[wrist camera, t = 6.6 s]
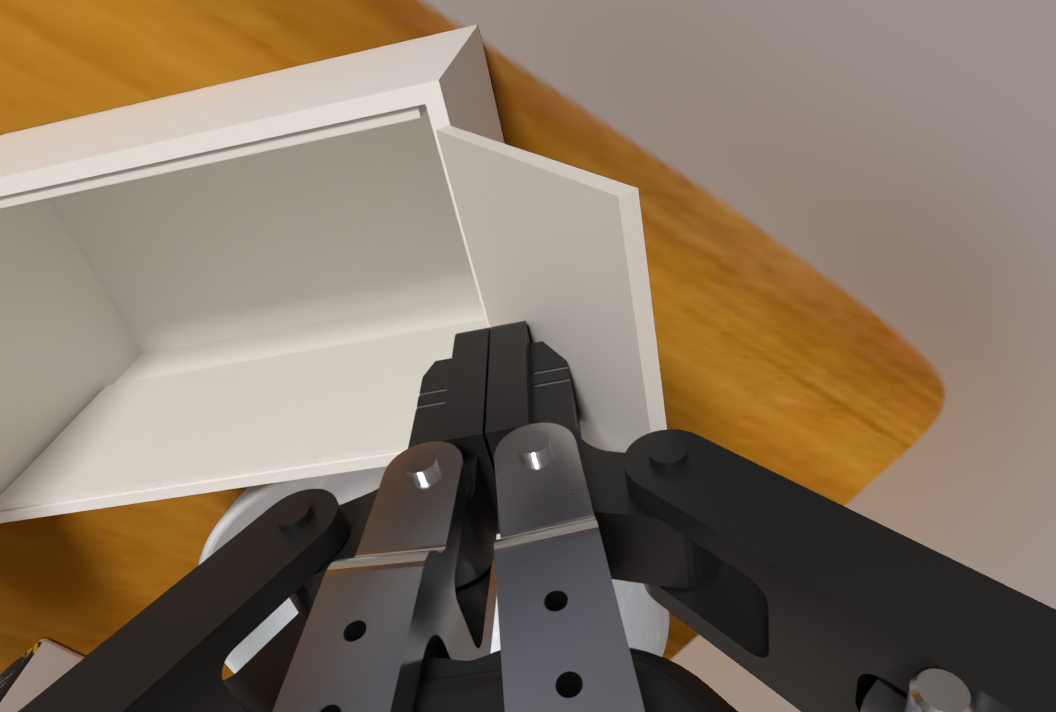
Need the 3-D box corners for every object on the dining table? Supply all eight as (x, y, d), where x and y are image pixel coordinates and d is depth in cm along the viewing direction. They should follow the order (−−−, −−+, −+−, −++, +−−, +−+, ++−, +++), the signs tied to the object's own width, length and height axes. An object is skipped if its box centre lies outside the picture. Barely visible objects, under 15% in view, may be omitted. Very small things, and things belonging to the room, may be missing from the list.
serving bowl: (708, 402, 31) (747, 512, 25) (588, 661, 42) (596, 779, 36) (249, 313, 28) (175, 411, 23) (252, 612, 40) (202, 728, 34)
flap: (521, 440, 18) (530, 436, 18) (676, 617, 13) (689, 608, 13) (435, 129, 14) (448, 125, 14) (618, 195, 8) (638, 187, 8)
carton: (5, 133, 24) (-279, 238, 16) (478, 24, 22) (438, 80, 14) (145, 359, 30) (-13, 528, 21) (537, 289, 27) (534, 447, 19)
